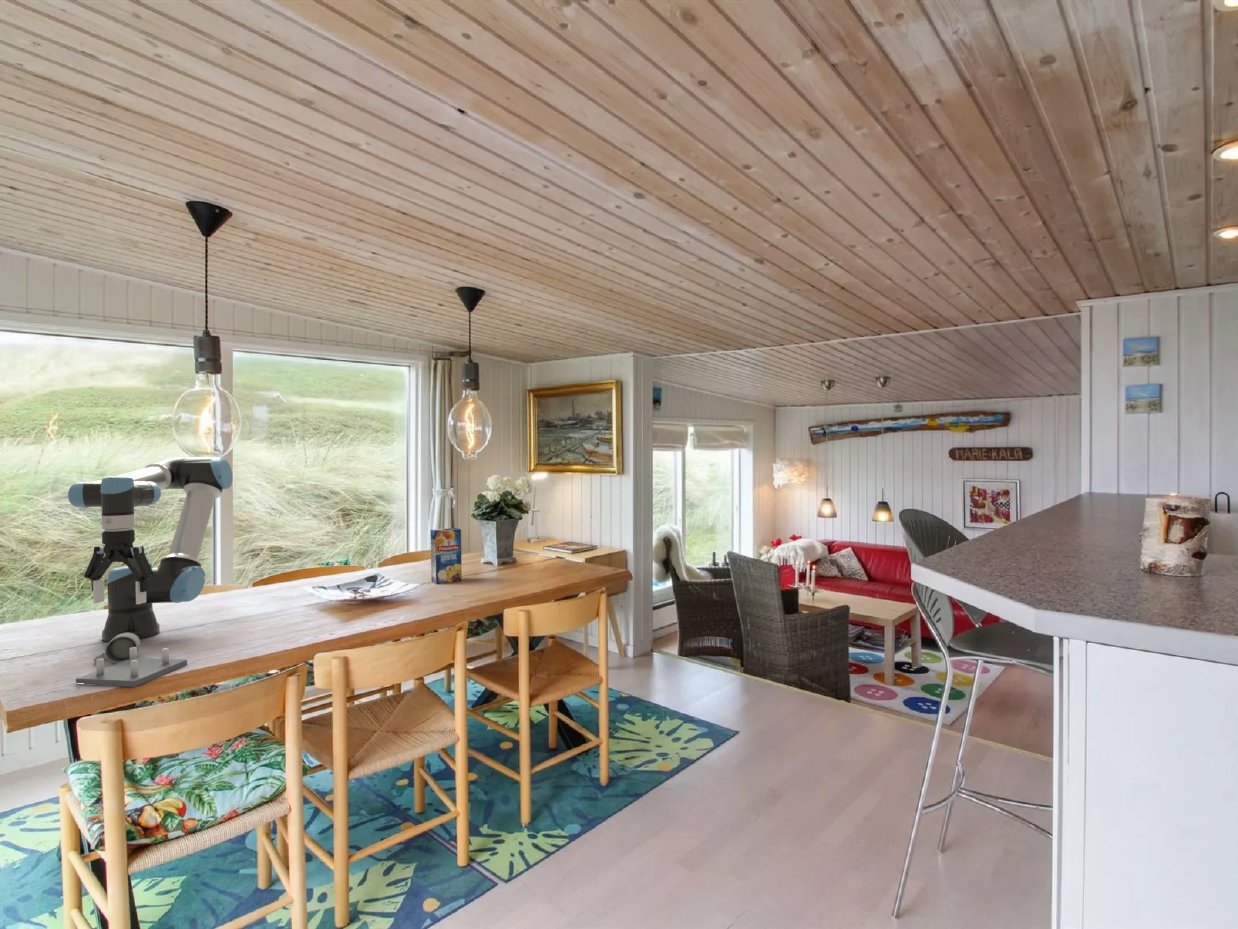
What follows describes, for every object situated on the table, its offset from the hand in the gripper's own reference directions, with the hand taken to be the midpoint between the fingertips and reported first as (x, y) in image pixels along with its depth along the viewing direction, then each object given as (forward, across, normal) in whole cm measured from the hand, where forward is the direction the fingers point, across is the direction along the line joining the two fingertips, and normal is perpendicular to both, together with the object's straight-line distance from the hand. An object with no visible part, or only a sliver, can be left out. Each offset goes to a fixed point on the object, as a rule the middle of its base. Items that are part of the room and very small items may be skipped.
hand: (120, 602), depth 186 cm
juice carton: (+16, +52, +117) cm, 129 cm away
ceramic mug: (+17, -1, 0) cm, 17 cm away
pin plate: (+17, +14, -11) cm, 24 cm away
